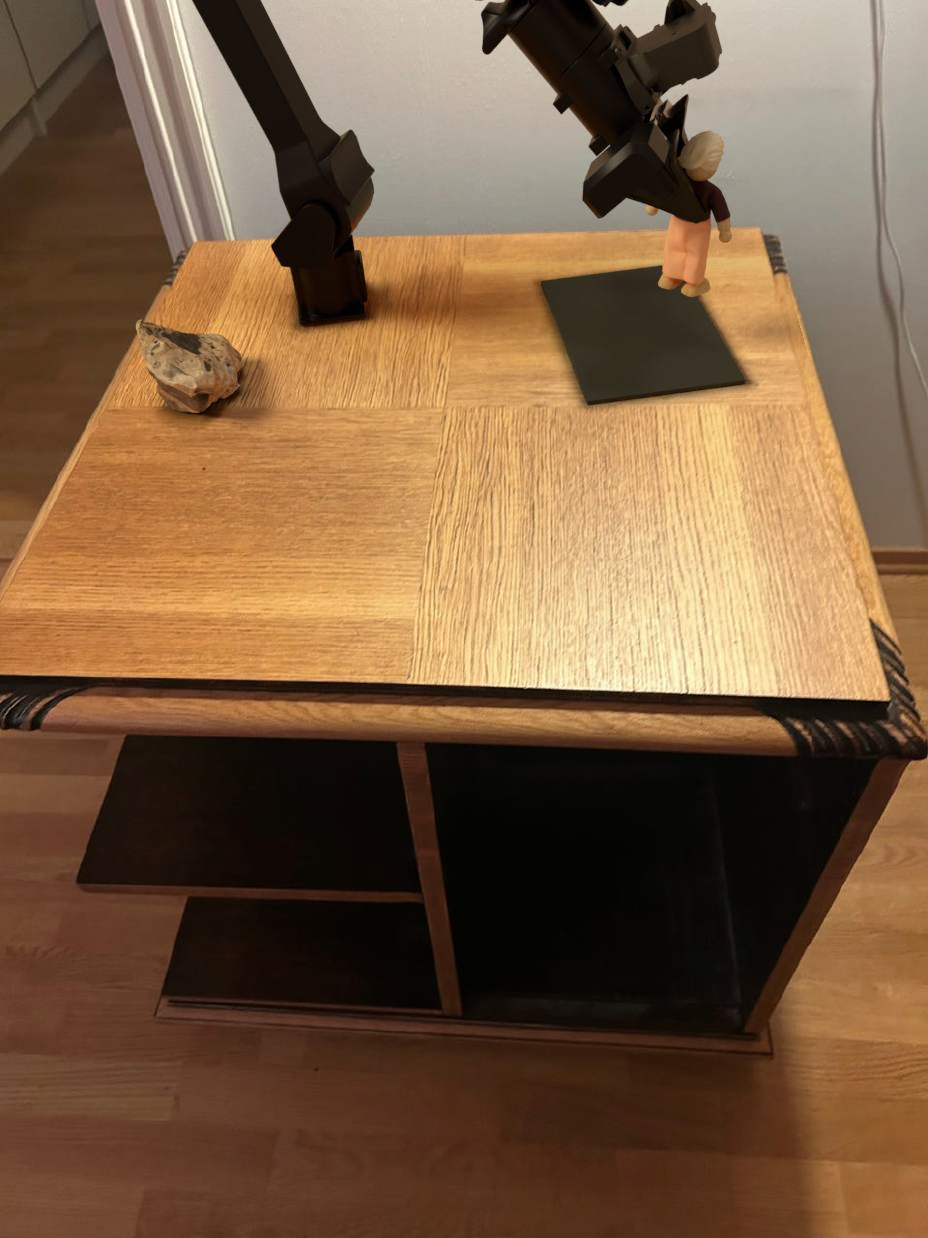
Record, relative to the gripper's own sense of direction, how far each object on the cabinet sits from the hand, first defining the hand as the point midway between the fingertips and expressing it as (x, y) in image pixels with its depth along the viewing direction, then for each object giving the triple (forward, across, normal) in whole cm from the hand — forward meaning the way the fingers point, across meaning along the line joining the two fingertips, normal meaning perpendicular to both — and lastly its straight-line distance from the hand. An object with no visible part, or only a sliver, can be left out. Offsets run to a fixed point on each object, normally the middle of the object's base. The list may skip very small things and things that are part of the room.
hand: (704, 210), depth 75 cm
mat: (+6, +1, +12) cm, 13 cm away
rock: (-20, -16, +38) cm, 46 cm away
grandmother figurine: (+4, 0, +6) cm, 7 cm away
